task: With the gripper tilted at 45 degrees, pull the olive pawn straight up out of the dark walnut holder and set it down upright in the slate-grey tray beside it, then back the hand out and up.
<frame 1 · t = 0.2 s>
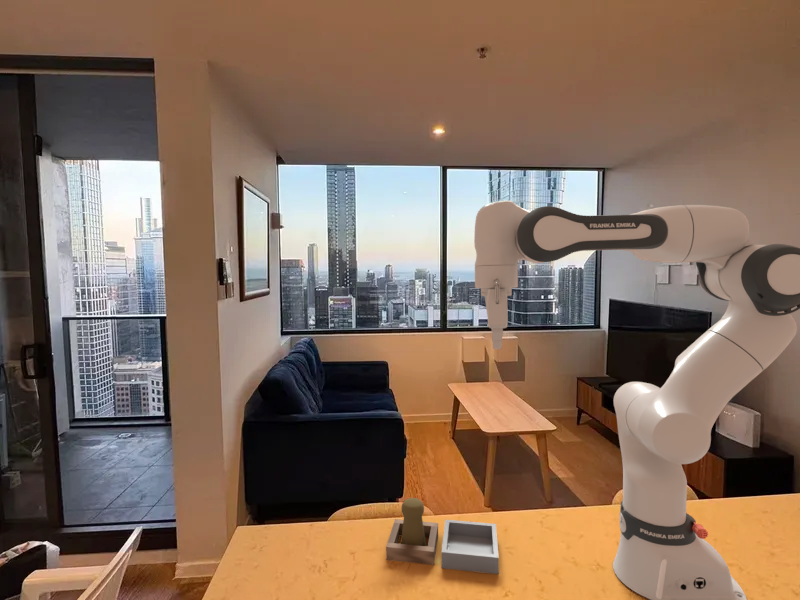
hand: (496, 345, 89), 48 cm above the countertop, tool pointing down, fingers open, 8 cm apart
olive pawn: (413, 547, 97), resting in walnut holder
slate tray: (470, 552, 95), on the countertop
walnut holder: (413, 546, 97), on the countertop
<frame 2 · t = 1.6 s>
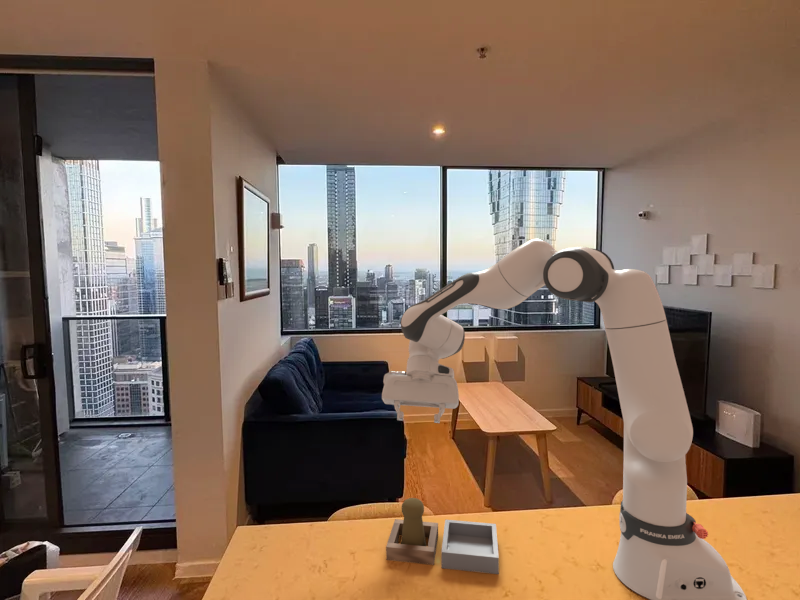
hand: (418, 420, 106), 26 cm above the countertop, tool tilted 45°, fingers open, 8 cm apart
nothing on the countertop moved.
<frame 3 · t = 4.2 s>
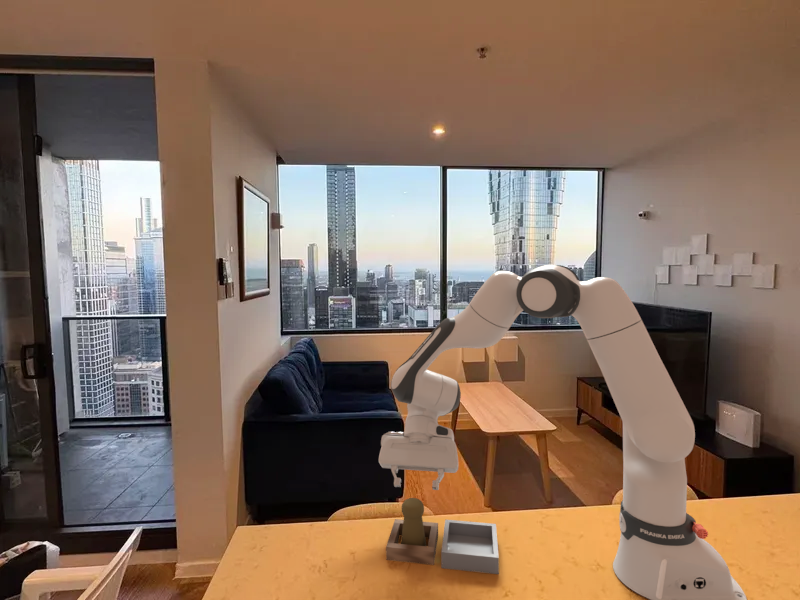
hand: (416, 487, 102), 11 cm above the countertop, tool tilted 45°, fingers open, 8 cm apart
nothing on the countertop moved.
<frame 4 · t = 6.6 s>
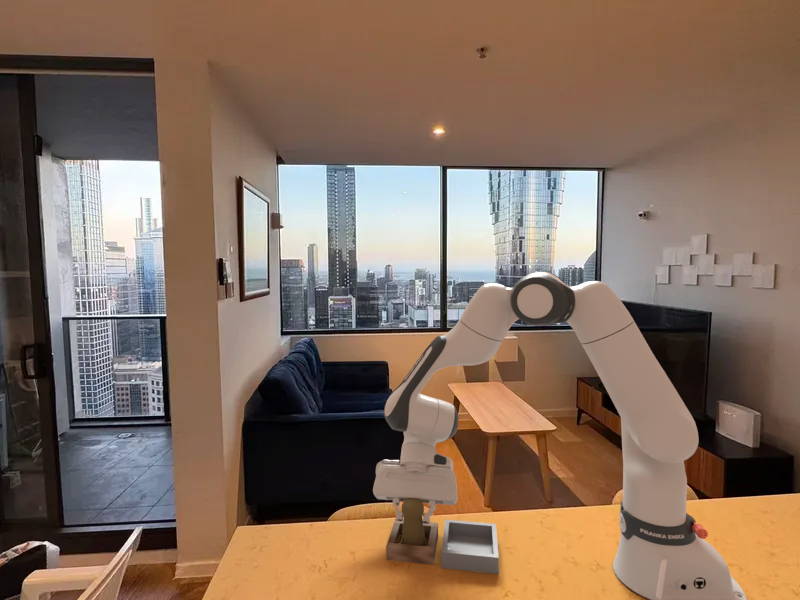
hand: (412, 521, 96), 6 cm above the countertop, tool tilted 45°, fingers closed on olive pawn, 5 cm apart
olive pawn: (413, 547, 97), resting in walnut holder, touching gripper
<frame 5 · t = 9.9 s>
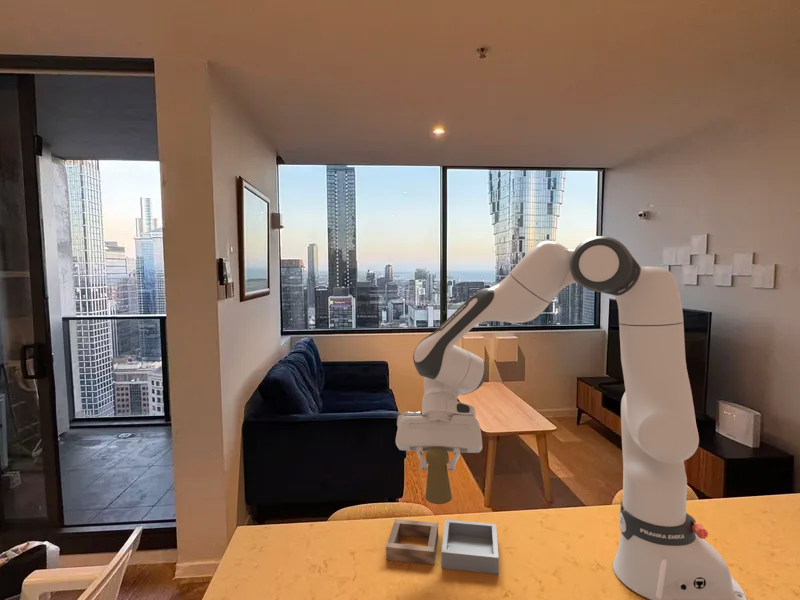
hand: (437, 469, 94), 19 cm above the countertop, tool tilted 45°, fingers closed on olive pawn, 5 cm apart
olive pawn: (438, 497, 95), point 12 cm above the countertop, touching gripper
when the fingers open (8 cm above the countertop, at t = 13.5 s): olive pawn drops 1 cm, resting on slate tray.
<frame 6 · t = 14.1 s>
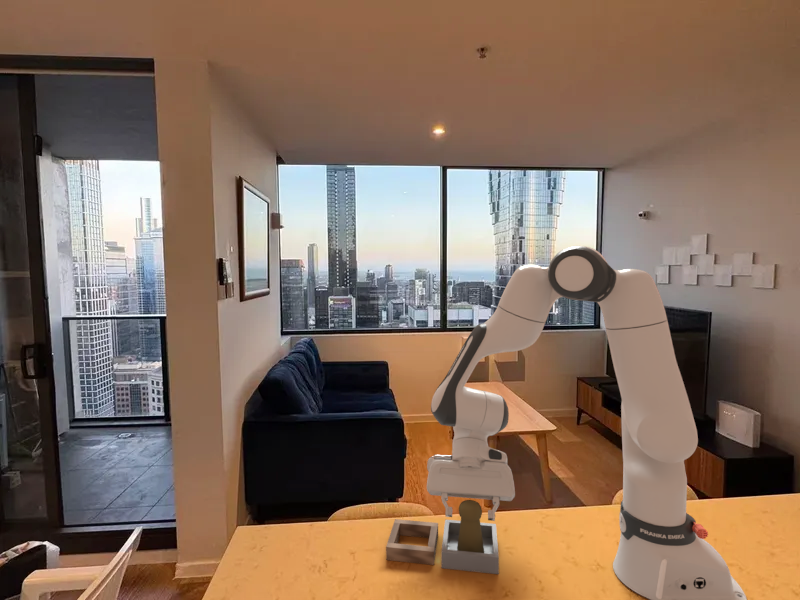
hand: (469, 518, 93), 8 cm above the countertop, tool tilted 45°, fingers open, 8 cm apart
olive pawn: (470, 550, 95), resting on slate tray
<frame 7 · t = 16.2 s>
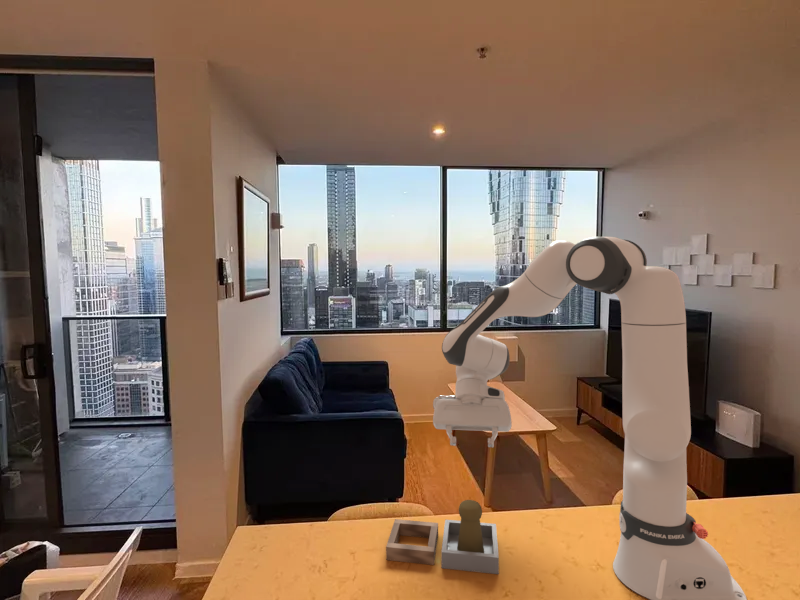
hand: (471, 445, 105), 20 cm above the countertop, tool tilted 45°, fingers open, 8 cm apart
nothing on the countertop moved.
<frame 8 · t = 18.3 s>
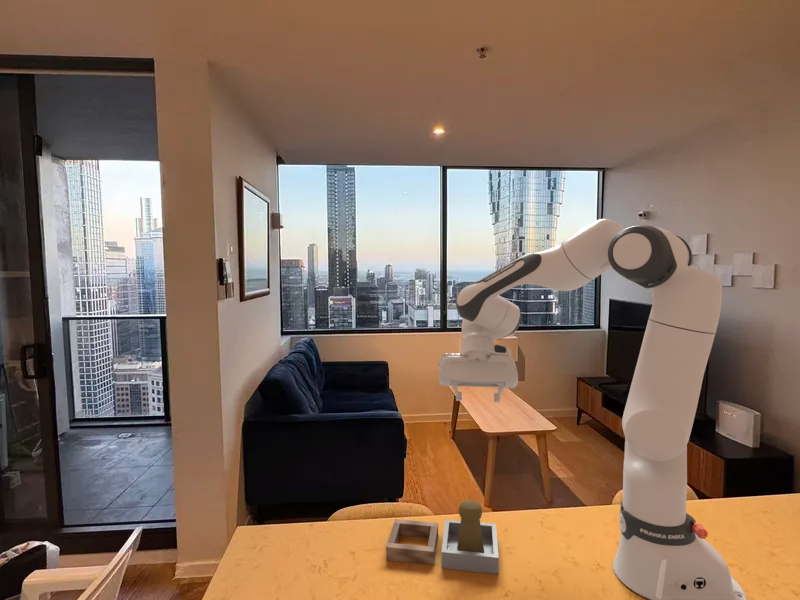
hand: (477, 400, 104), 31 cm above the countertop, tool tilted 45°, fingers open, 8 cm apart
nothing on the countertop moved.
at the end: olive pawn inside the target area on the slate tray (0.1 cm from its centre), point 0.4 cm above the slate tray's base; olive pawn tilted 0°; the gripper is holding nothing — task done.
